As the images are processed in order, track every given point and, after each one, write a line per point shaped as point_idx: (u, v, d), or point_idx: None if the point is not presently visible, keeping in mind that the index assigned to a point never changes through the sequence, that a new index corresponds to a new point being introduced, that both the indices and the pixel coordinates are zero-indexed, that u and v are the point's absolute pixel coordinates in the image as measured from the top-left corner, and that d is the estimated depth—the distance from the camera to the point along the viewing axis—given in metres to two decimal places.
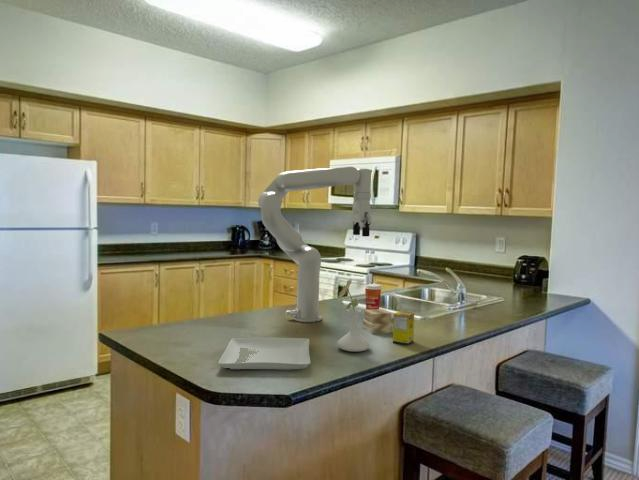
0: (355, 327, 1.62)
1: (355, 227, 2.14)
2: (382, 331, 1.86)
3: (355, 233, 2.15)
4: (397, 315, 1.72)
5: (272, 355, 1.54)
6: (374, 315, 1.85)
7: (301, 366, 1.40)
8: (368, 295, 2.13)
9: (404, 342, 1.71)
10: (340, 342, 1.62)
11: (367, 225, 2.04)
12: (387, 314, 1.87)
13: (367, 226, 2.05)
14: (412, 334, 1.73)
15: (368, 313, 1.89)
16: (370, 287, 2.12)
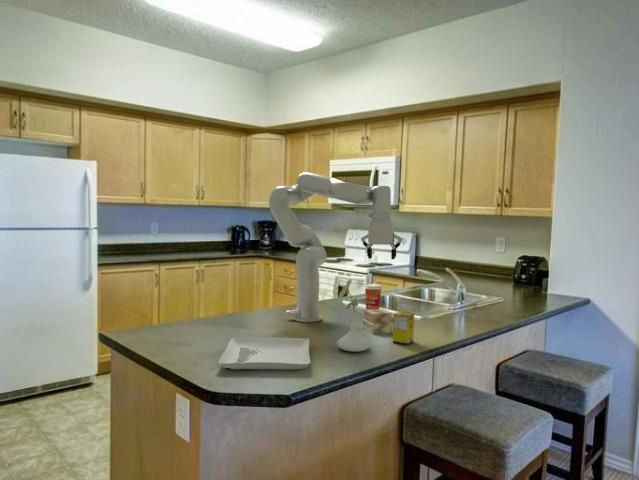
0: (355, 327, 1.62)
1: (370, 250, 1.93)
2: (382, 331, 1.86)
3: (370, 256, 1.94)
4: (397, 315, 1.72)
5: (272, 355, 1.54)
6: (374, 315, 1.85)
7: (301, 366, 1.40)
8: (368, 295, 2.13)
9: (404, 342, 1.71)
10: (340, 342, 1.62)
11: (397, 247, 1.90)
12: (387, 314, 1.87)
13: (396, 248, 1.90)
14: (412, 334, 1.73)
15: (368, 313, 1.89)
16: (370, 287, 2.12)
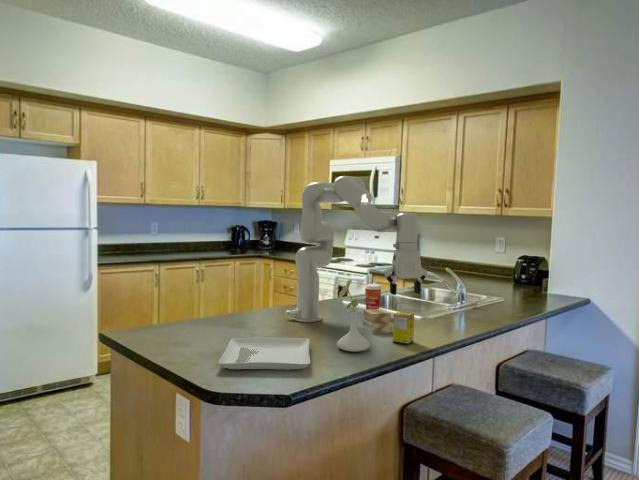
0: (355, 327, 1.62)
1: None
2: (382, 331, 1.86)
3: None
4: (397, 315, 1.72)
5: (272, 355, 1.54)
6: (374, 315, 1.85)
7: (301, 366, 1.40)
8: (368, 295, 2.13)
9: (404, 342, 1.71)
10: (340, 342, 1.62)
11: None
12: (386, 314, 1.87)
13: None
14: (412, 334, 1.73)
15: (367, 313, 1.89)
16: (370, 287, 2.12)
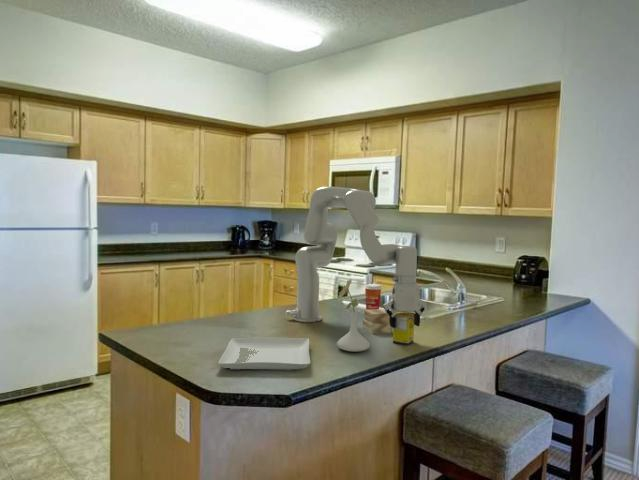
0: (355, 327, 1.62)
1: None
2: (382, 331, 1.86)
3: None
4: (397, 315, 1.72)
5: (272, 355, 1.54)
6: (374, 315, 1.85)
7: (301, 366, 1.40)
8: (368, 295, 2.13)
9: (404, 342, 1.71)
10: (340, 342, 1.62)
11: None
12: (387, 314, 1.87)
13: None
14: (412, 334, 1.73)
15: (368, 313, 1.89)
16: (370, 287, 2.12)
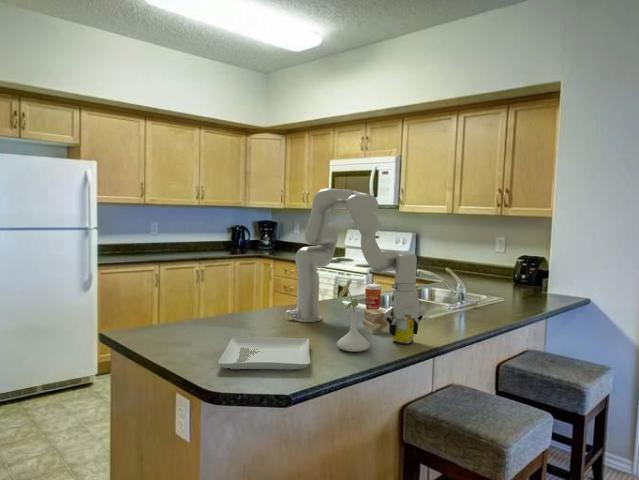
0: (355, 327, 1.62)
1: None
2: (382, 331, 1.86)
3: None
4: None
5: (272, 355, 1.54)
6: (375, 315, 1.85)
7: (301, 366, 1.40)
8: (368, 295, 2.13)
9: (404, 342, 1.71)
10: (340, 342, 1.62)
11: None
12: None
13: None
14: (412, 334, 1.73)
15: (368, 313, 1.89)
16: (370, 287, 2.12)
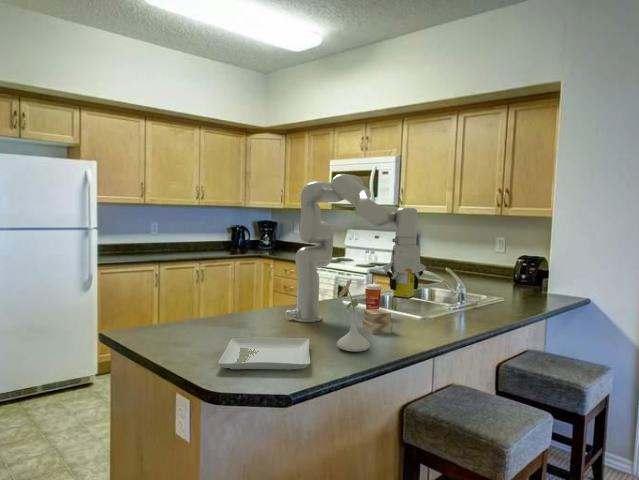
0: (355, 327, 1.62)
1: None
2: (382, 331, 1.86)
3: None
4: None
5: (272, 355, 1.54)
6: (374, 315, 1.85)
7: (301, 366, 1.40)
8: (368, 295, 2.13)
9: (404, 296, 1.70)
10: (340, 342, 1.62)
11: None
12: (387, 314, 1.87)
13: None
14: (412, 288, 1.73)
15: (368, 313, 1.89)
16: (370, 287, 2.12)
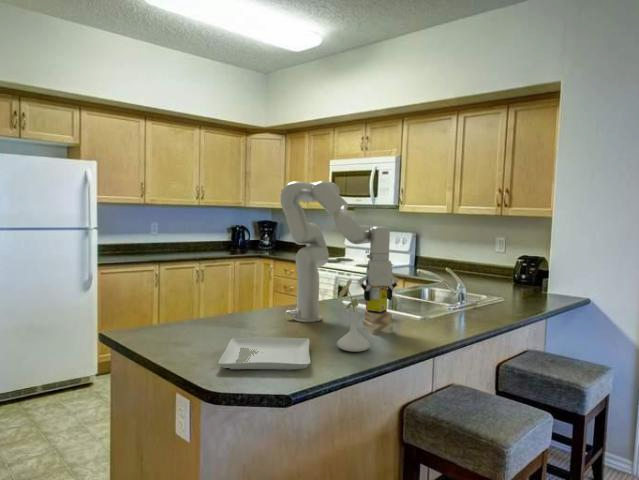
0: (355, 327, 1.62)
1: None
2: (382, 331, 1.86)
3: None
4: (371, 286, 1.88)
5: (272, 355, 1.54)
6: (374, 315, 1.85)
7: (301, 366, 1.40)
8: None
9: (377, 311, 1.86)
10: (340, 342, 1.62)
11: None
12: (387, 314, 1.86)
13: None
14: (384, 303, 1.89)
15: (368, 313, 1.88)
16: None
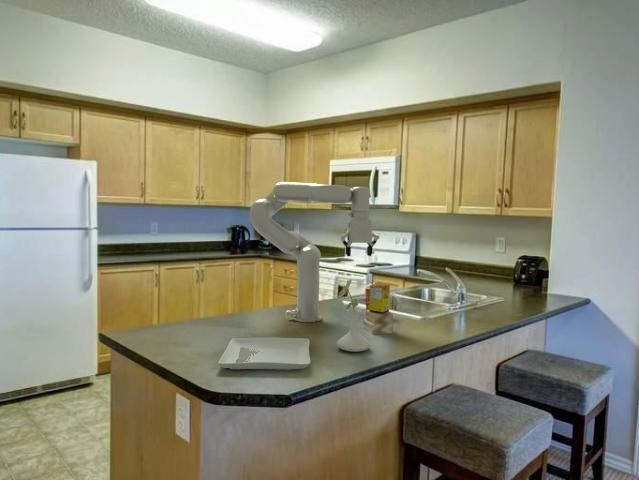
0: (355, 327, 1.62)
1: None
2: (382, 331, 1.86)
3: None
4: (373, 286, 1.87)
5: (272, 355, 1.54)
6: (376, 315, 1.84)
7: (301, 366, 1.40)
8: (368, 295, 2.13)
9: (379, 311, 1.86)
10: (340, 342, 1.62)
11: None
12: (389, 314, 1.86)
13: None
14: (387, 304, 1.88)
15: (370, 313, 1.88)
16: None
